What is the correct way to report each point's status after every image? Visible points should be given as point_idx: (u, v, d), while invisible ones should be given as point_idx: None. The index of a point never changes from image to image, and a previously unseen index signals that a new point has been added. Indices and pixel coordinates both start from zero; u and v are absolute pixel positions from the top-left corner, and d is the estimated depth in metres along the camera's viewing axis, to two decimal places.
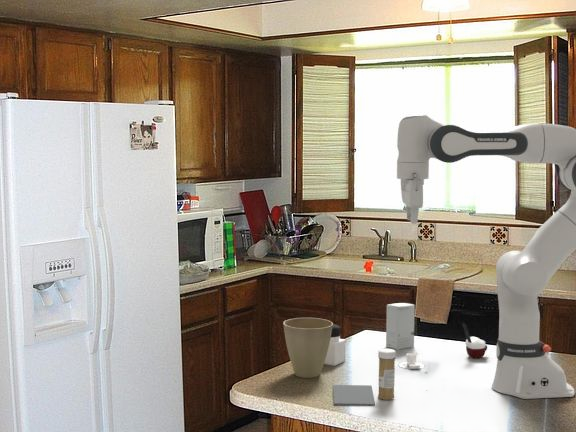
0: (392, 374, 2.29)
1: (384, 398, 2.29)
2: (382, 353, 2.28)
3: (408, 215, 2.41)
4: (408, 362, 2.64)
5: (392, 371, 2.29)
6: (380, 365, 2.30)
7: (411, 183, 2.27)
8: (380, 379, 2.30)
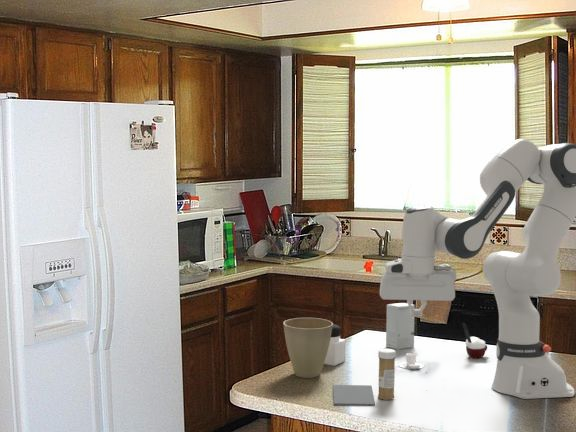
0: (392, 374, 2.29)
1: (384, 398, 2.29)
2: (382, 353, 2.28)
3: None
4: (408, 362, 2.64)
5: (392, 371, 2.29)
6: (380, 365, 2.30)
7: (451, 276, 2.26)
8: (380, 379, 2.30)
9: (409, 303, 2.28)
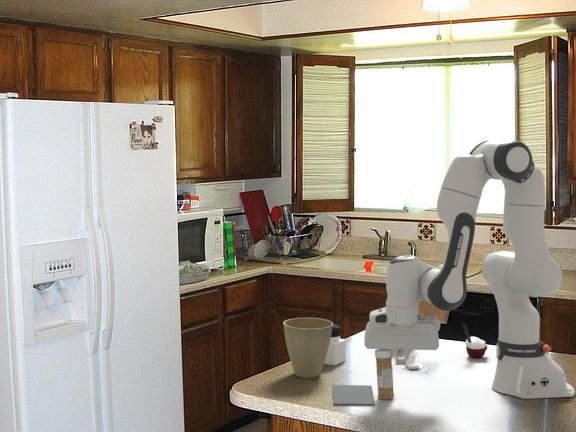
0: (390, 373, 2.29)
1: (384, 398, 2.29)
2: (378, 352, 2.29)
3: None
4: (407, 362, 2.64)
5: (390, 370, 2.29)
6: (377, 365, 2.30)
7: (435, 326, 2.28)
8: (378, 379, 2.30)
9: (393, 352, 2.29)
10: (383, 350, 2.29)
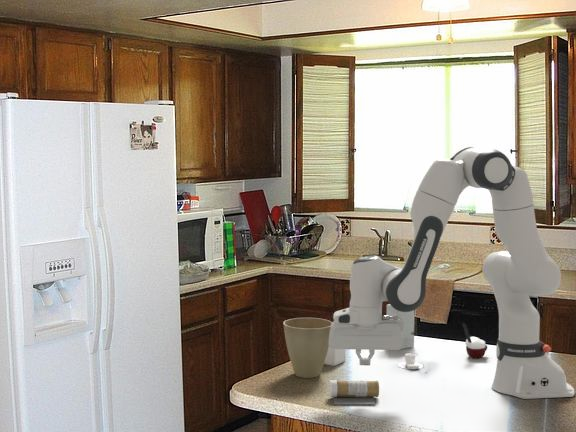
0: (353, 386, 2.29)
1: (377, 394, 2.29)
2: (331, 395, 2.29)
3: None
4: (407, 362, 2.63)
5: (350, 386, 2.29)
6: (344, 396, 2.30)
7: (399, 326, 2.28)
8: (358, 396, 2.30)
9: (357, 352, 2.30)
10: (330, 389, 2.30)
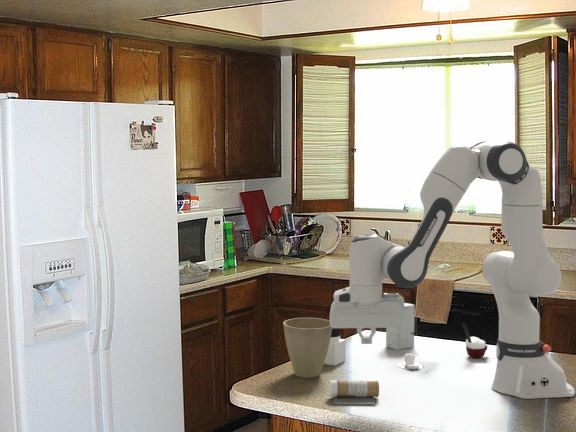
0: (353, 386, 2.29)
1: (377, 394, 2.29)
2: (331, 395, 2.29)
3: None
4: (407, 362, 2.63)
5: (350, 386, 2.29)
6: (344, 396, 2.30)
7: (399, 303, 2.28)
8: (358, 396, 2.30)
9: (358, 331, 2.29)
10: (330, 389, 2.30)
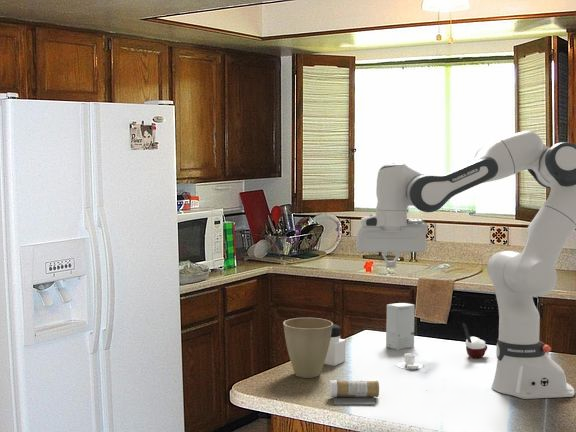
0: (353, 386, 2.29)
1: (377, 394, 2.29)
2: (331, 395, 2.29)
3: None
4: (406, 362, 2.63)
5: (350, 386, 2.29)
6: (344, 396, 2.30)
7: (423, 229, 2.40)
8: (358, 396, 2.30)
9: (383, 255, 2.42)
10: (330, 389, 2.30)
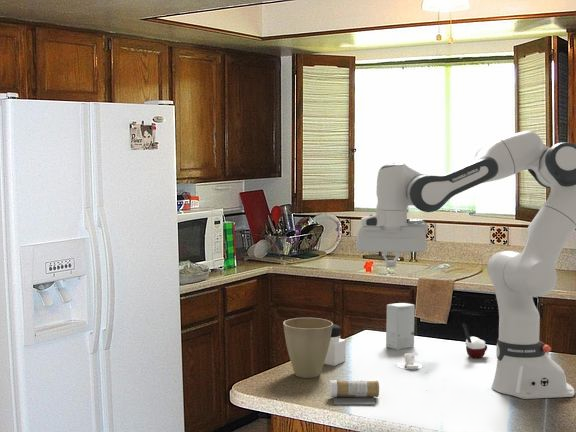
0: (353, 386, 2.29)
1: (377, 394, 2.29)
2: (331, 395, 2.29)
3: None
4: (406, 362, 2.63)
5: (350, 386, 2.29)
6: (344, 396, 2.30)
7: (423, 229, 2.40)
8: (358, 396, 2.30)
9: (383, 255, 2.42)
10: (330, 389, 2.30)
